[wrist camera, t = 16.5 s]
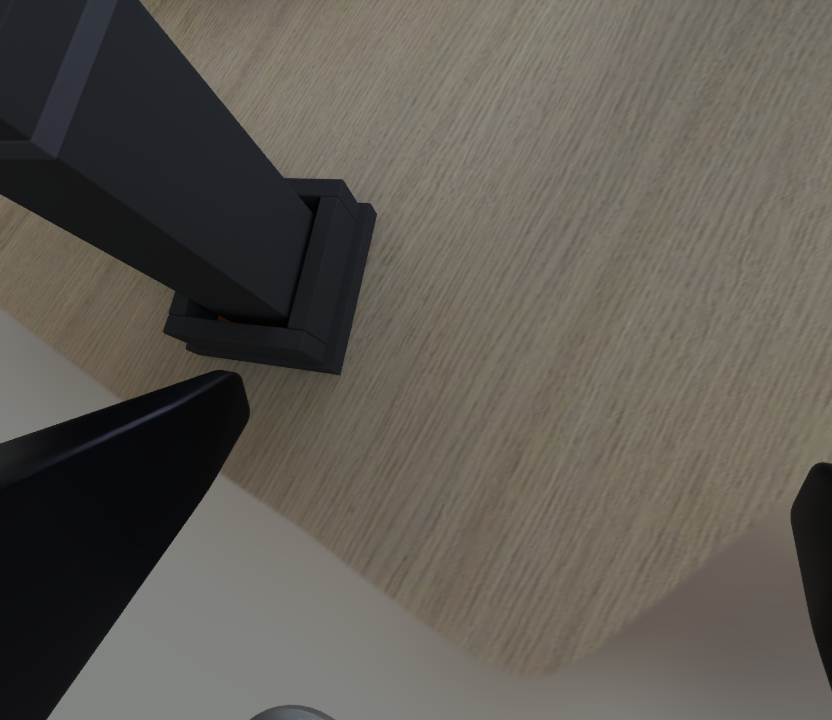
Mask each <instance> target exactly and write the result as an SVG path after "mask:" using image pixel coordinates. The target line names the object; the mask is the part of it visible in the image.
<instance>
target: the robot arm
mask: <svg viewBox="0 0 832 720" xmlns="http://www.w3.org/2000/svg"><path fill="white" fill-rule="evenodd" d="M249 416H250V407H249V403H248V399H247V395H246V391H245V388H244V384H243V380H242V378H241V376H240V375H239V374H237V373H236V372H230V371H224V370H215V371H212V372H209V373H206V374H203V375H200V376H197V377H194V378H191V379H189V380H186V381H183V382H180V383H177V384H174V385H171V386H168V387H165V388H162V389H159V390H156V391H153V392H150V393H147V394H144V395H142V396H139V397H136V398H133V399H130V400H127V401H124V402H121V403H118V404H115V405H112V406H109V407H107V408H103V409H101V410H98V411H95V412H92V413H89V414H86V415H83V416H80V417H77V418H74V419H71V420H68V421H65V422H62V423H59V424H56V425H53V426H51V427H48V428H45V429H42V430H39V431H36V432H33V433H30V434H27V435H24V436H21V437H18V438H15V439H13V440H9V441H7V442H4V443H1V444H0V720H46V719H47V718H48V717H49V715H50V714H51V712H52V711H53V710H54V708H55V707H56V705H57V704H58V702H59V701H60V700H61V698H62V697H63V695H64V694H65V693H66V691H67V690H68V688H69V687H70V685H71V684H72V683H73V681H74V680H75V678H76V677H77V675H78V674H79V673H80V671H81V670H82V669H83V667H84V666H85V664H86V663H87V661H88V660H89V659H90V657H91V656H92V654H93V653H94V652H95V650H96V649H97V647H98V646H99V644H100V643H101V642H102V640H103V639H104V637H105V636H106V635H107V633H108V632H109V630H110V629H111V627H112V626H113V625H114V623H115V622H116V620H117V619H118V618H119V616H120V615H121V613H122V612H123V611H124V609H125V608H126V606H127V605H128V603H129V602H130V601H131V599H132V598H133V596H134V595H135V594H136V592H137V591H138V589H139V588H140V586H141V585H142V584H143V582H144V581H145V579H146V578H147V577H148V575H149V574H150V572H151V571H152V569H153V568H154V567H155V565H156V564H157V562H158V561H159V560H160V558H161V557H162V555H163V554H164V552H165V551H166V550H167V548H168V547H169V545H170V544H171V543H172V541H173V540H174V538H175V537H176V536H177V534H178V533H179V531H180V530H181V529H182V527H183V526H184V524H185V523H186V521H187V520H188V518H189V517H190V516H191V514H192V513H193V512H194V510H195V509H196V507H197V506H198V504H199V503H200V502H201V500H202V499H203V497H204V495H205V494H206V493H207V491H208V490H209V488H210V487H211V485H212V483H213V482H214V480H215V478H216V477H217V475H218V473H219V471H220V470H221V468H222V466H223V464H224V463H225V461H226V459H227V457H228V456H229V454H230V452H231V450H232V449H233V447H234V445H235V443H236V442H237V440H238V438H239V436H240V435H241V433H242V431H243V429H244V428H245V426H246V424H247V422H248V420H249ZM791 525H792V530H793V535H794V540H795V545H796V551H797V556H798V560H799V566H800V571H801V576H802V581H803V586H804V592H805V597H806V602H807V607H808V612H809V616H810V621H811V625H812V629H813V633H814V636H815V640H816V643H817V647H818V650H819V653H820V656H821V659H822V662H823V665H824V668H825V671H826V675H827V678H828V681H829V684H830V687H831V690H832V464H831V463H825V462H821V463H817V464H815V465H814V466H813V467H812V468H811V470H810V471H809V473H808V475H807V477H806V479H805V481H804V483H803V485H802V487H801V489H800V491H799V493H798V495H797V497H796V499H795V501H794V503H793V505H792V509H791Z"/></svg>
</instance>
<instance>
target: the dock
mask: <svg viewBox="0 0 832 720" xmlns="http://www.w3.org/2000/svg"><path fill="white" fill-rule="evenodd" d="M284 179H285V180H286V181H287V183H288V184H289V185H290V186H291V188H292V189H293V190H294V191H295V192H296V194H297V195H298V196H299V197H300V199H301V200H302V201H303V202H304V204H305V205H306V206H307V207H308V208H309V210H310V211H311V212H312V213H313V215H314V216H315V221H314V225H313V229H312V233H311V237H310V241H309V245H308V248H307V252H306V256H305V260H304V264H303V268H302V272H301V276H300V280H299V283H298V287H297V291H296V295H295V299H294V303H293V307H292V311H291V315H290V318H289V322H288V326H287V328H283V327H274V326H265V325H255V324H246V323H237V322H231V321H229V320H227V319H225V318H223V317H222V316H220V315H218V314H216V313H214V312H213V311H211V310H209V309H207V308H205V307H204V306H202V305H200V304H198V303H196V302H194V301H193V300H191V299H189V298H187V297H185V296H184V295H182V294H180V293H178V292H176V291H175V295H174V298H173V301H172V304H171V307H170V310H169V314H170V315H169V316H168V318H167V321H166V324H165V327H164V331H163V332H164V333H165V334H167V335H169V336H172V337H174V338H176V339H179V340H181V341H183V342H186V343H187V346H186V350H188V351H191V352H193V353H196V354H198V355H204V356H211V357H218V358H225V359H232V360H239V361H246V362H253V363H260V364H267V365H274V366H281V367H288V368H295V369H302V370H309V371H316V372H322V373H329V374H336V375H340V374H341V370H342V365H343V361H344V357H345V352H346V348H347V343H348V339H349V335H350V330H351V326H352V321H353V317H354V313H355V308H356V304H357V299H358V295H359V291H360V286H361V282H362V277H363V273H364V269H365V264H366V260H367V255H368V251H369V247H370V242H371V238H372V233H373V229H374V225H375V220H376V216H377V214H376V212H375V210H374V208H373V207H372V205H371V204H370V203H357V201H356V200H355V198H354V196H353V195H352V193H351V192H350V190H349V188H348V187H347V185H346V184H345V182H344V181H343V180H342V179H297V178H284Z"/></svg>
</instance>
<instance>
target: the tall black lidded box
mask: <svg viewBox="0 0 832 720" xmlns="http://www.w3.org/2000/svg"><path fill="white" fill-rule="evenodd" d="M0 194H1V195H3V196H5V197H6V198H8V199H10V200H12V201H14V202H16V203H17V204H19V205H21V206H23V207H25V208H26V209H28V210H30V211H32V212H34V213H35V214H37V215H39V216H41V217H43V218H44V219H46V220H48V221H50V222H52V223H53V224H55V225H57V226H59V227H61V228H63V229H64V230H66V231H68V232H70V233H72V234H73V235H75V236H77V237H79V238H81V239H82V240H84V241H86V242H88V243H90V244H91V245H93V246H95V247H97V248H99V249H100V250H102V251H104V252H106V253H108V254H110V255H111V256H113V257H115V258H117V259H119V260H120V261H122V262H124V263H126V264H128V265H129V266H131V267H133V268H135V269H137V270H138V271H140V272H142V273H144V274H146V275H147V276H149V277H151V278H153V279H155V280H157V281H158V282H160V283H162V284H164V285H166V286H167V287H169V288H171V289H173V290H175V291H176V292H178V293H180V294H182V295H184V296H185V297H187V298H189V299H191V300H193V301H194V302H196V303H198V304H200V305H202V306H204V307H205V308H207V309H209V310H211V311H213V312H214V313H216V314H218V315H220V316H222V317H223V318H225V319H227V320H229V321H231V322H237V323H246V324H255V325H265V326H274V327H283V328H287V326H288V322H289V318H290V315H291V311H292V307H293V303H294V299H295V295H296V291H297V287H298V283H299V280H300V276H301V272H302V268H303V264H304V260H305V256H306V252H307V248H308V245H309V241H310V237H311V233H312V229H313V225H314V221H315V216H314V215H313V213H312V212H311V211H310V210H309V208H308V207H307V206H306V205H305V204H304V202H303V201H302V200H301V199H300V197H299V196H298V195H297V194H296V192H295V191H294V190H293V189H292V188H291V186H290V185H289V184H288V183H287V181H286V180H285V179H284V178H283V177H282V175H281V174H280V173H279V172H278V170H277V169H276V168H275V167H274V165H273V164H272V163H271V162H270V161H269V159H268V158H267V157H266V156H265V154H264V153H263V152H262V151H261V150H260V148H259V147H258V146H257V145H256V143H255V142H254V141H253V140H252V138H251V137H250V136H249V135H248V134H247V132H246V131H245V130H244V129H243V127H242V126H241V125H240V124H239V122H238V121H237V120H236V119H235V118H234V116H233V115H232V114H231V113H230V111H229V110H228V109H227V108H226V107H225V105H224V104H223V103H222V102H221V100H220V99H219V98H218V97H217V95H216V94H215V93H214V92H213V91H212V89H211V88H210V87H209V86H208V84H207V83H206V82H205V81H204V80H203V78H202V77H201V76H200V75H199V73H198V72H197V71H196V70H195V68H194V67H193V66H192V65H191V64H190V62H189V61H188V60H187V59H186V57H185V56H184V55H183V54H182V53H181V51H180V50H179V49H178V48H177V46H176V45H175V44H174V43H173V41H172V40H171V39H170V38H169V37H168V35H167V34H166V33H165V32H164V30H163V29H162V28H161V27H160V25H159V24H158V23H157V22H156V21H155V19H154V18H153V17H152V16H151V14H150V13H149V12H148V11H147V10H146V8H145V7H144V6H143V5H142V3H141V2H140V1H139V0H0Z"/></svg>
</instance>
